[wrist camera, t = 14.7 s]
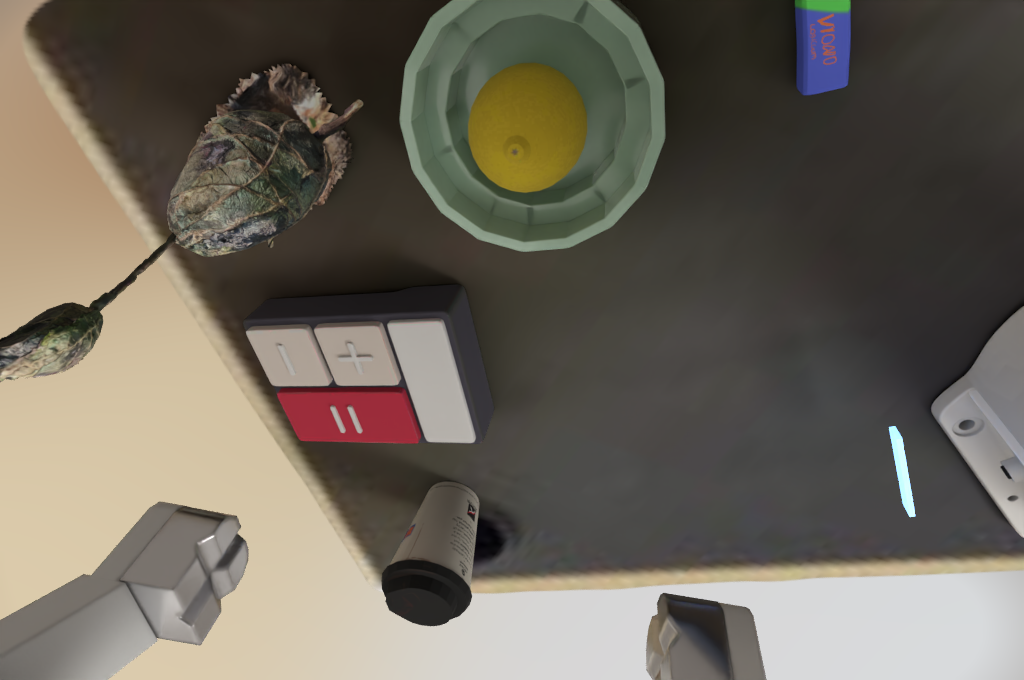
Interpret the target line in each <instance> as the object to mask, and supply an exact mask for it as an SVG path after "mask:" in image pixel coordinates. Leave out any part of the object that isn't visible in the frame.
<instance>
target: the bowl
mask: <svg viewBox="0 0 1024 680" xmlns="http://www.w3.org/2000/svg"><path fill="white" fill-rule="evenodd" d="M519 63H539V64H543V65H547V66H551V67H552V68H554V69H556V70H558V71H559V72H561V73H563V74H564V75H565V76H566V77H567V78H568V79H569V80H570V81H571V82H572V83H573V84H574V85H575V87H576V88H577V90H578V92H579V93H580V95H581V97H582V99H583V103H584V106H585V109H586V113H587V135H586V140H585V145H584V149H583V151H582V153H581V155H580V157H579V159H578V161H577V163H576V164H575V165H574V167H573V168H572V169H571V170H570V171H569V173H568V174H567V175H566V176H565V177H564V178H562V179H561V180H559V181H558V182H557V183H555V184H554V185H552V186H550V187H548V188H545V189H543V190H540V191H535V192H527V193H523V192H515V191H510V190H508V189H505V188H502V187H500V186H498V185H497V184H495V183H494V182H493V181H491V180H490V179H488V177H487V176H486V175H485V174H484V173H483V172H482V171H481V170H480V168H479V167H478V165H477V163H476V161H475V159H474V158H473V155H472V152H471V148H470V144H469V136H468V122H469V117H470V112H471V107H472V105H473V103H474V101H475V99H476V97H477V95H478V93H479V91H480V89H481V88H482V87H483V86H484V85H485V84H486V83H487V81H488V80H489V79H490V78H491V77H492V76H494V75H495V74H497V73H498V72H500V71H501V70H503V69H504V68H507V67H510V66H513V65H516V64H519ZM399 120H400V126H401V130H402V133H403V137H404V141H405V145H406V149H407V153H408V156H409V160H410V164H411V168H412V170H413V173H414V174H415V176H416V177H417V179H418V180H419V181H420V183H421V184H422V186H423V187H424V189H425V190H426V192H427V193H428V195H429V196H430V197H431V199H432V200H433V202H434V203H435V205H436V206H437V208H438V209H439V211H441V213H442V214H444V215H445V216H447V217H448V218H449V219H451V220H452V221H453V222H455V223H456V224H458V225H459V226H460V227H462V228H463V229H465V230H466V231H467V232H469V233H470V234H472V235H473V236H474V237H476V238H477V239H479V240H482V241H486V242H489V243H493V244H496V245H500V246H504V247H507V248H511V249H514V250H518V251H522V252H523V251H524V252H528V251H540V250H551V249H562V248H569V247H572V246H574V245H576V244H578V243H580V242H582V241H584V240H586V239H588V238H590V237H592V236H594V235H596V234H598V233H600V232H602V231H605V230H607V229H609V228H611V227H612V226H613V225H614V224H615V223H616V222H617V221H618V220H619V219H620V218H621V217H622V215H623V214H624V213H625V212H626V211H627V210H628V209H629V208H630V207H631V206H632V204H633V203H634V202H635V201H636V200H637V199H638V198H639V197H640V196H641V195H642V193H643V192H644V191H645V190H646V188H647V186H648V183H649V181H650V178H651V175H652V173H653V170H654V168H655V165H656V162H657V160H658V157H659V154H660V152H661V149H662V146H663V144H664V141H665V93H664V79H663V77H662V74H661V71H660V68H659V66H658V63H657V61H656V58H655V56H654V54H653V52H652V49H651V47H650V45H649V43H648V40H647V38H646V36H645V34H644V31H643V29H642V27H641V25H640V23H639V20H638V18H637V17H636V15H635V14H633V13H632V12H631V11H630V10H629V9H628V8H627V7H626V6H624V5H623V4H622V3H621V2H620V1H619V0H452V1H450V2H449V3H448V4H446V5H445V6H444V7H443V8H441V9H440V10H439V11H437V12H436V13H435V14H433V16H432V17H431V18H430V19H429V21H428V23H427V25H426V27H425V29H424V31H423V33H422V34H421V36H420V38H419V40H418V42H417V44H416V46H415V48H414V49H413V51H412V53H411V55H410V57H409V59H408V61H407V62H406V64H405V69H404V78H403V88H402V97H401V107H400V117H399Z"/></svg>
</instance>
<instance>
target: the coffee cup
mask: <svg viewBox="0 0 1024 680" xmlns="http://www.w3.org/2000/svg"><path fill="white" fill-rule="evenodd" d="M478 511H479V500H478V497H477V496H476V494H475V493H474V492H473V491H472V490H471V489H470V488H468V487H466V486H464V485H462V484H460V483H456V482H446V481H445V482H440V483H437V484H435V485H433V486H432V487H431V488H430V490H429V491H428V493H427V495H426V497H425V499H424V501H423V503H422V505H421V506H420V508H419V510H418V512H417V514H416V516H415V518H414V520H413V522H412V524H411V526H410V527H409V529H408V531H407V533H406V535H405V537H404V539H403V541H402V543H401V545H400V546H399V548H398V550H397V552H396V554H395V556H394V558H393V560H392V562H391V564H390V565H389V566H387V568H386V569H385V570H384V572H383V573H382V590H383V592H384V595H385V597H386V603H387V605H388V608H389V610H390V611H392V612H394V613H395V614H397V615H399V616H401V617H402V618H404V619H406V620H408V621H410V622H412V623H416V624H419V625H425V626H437V625H442V624H445V623H447V622H448V621H449V620H450V619H453V618H455V617H458V616H460V615H461V614H462V613H463V612H464V611H465V610H466V609H467V607H468V606H469V605H470V602H471V598H472V594H471V590H470V585H471V576H472V567H473V557H474V548H475V539H476V530H477V520H478Z"/></svg>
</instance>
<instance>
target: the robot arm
mask: <svg viewBox="0 0 1024 680" xmlns="http://www.w3.org/2000/svg"><path fill="white" fill-rule="evenodd" d="M931 412H932V414H933V416H934V417H935V419H936V420H937V422H938V423H939V425H940V426H941V427H942V429H943V430H944V432H945V433H946V434H947V436H948V437H949V439H950V440H951V442H952V443H953V444H954V446H955V447H956V449H957V450H958V451H959V453H960V454H961V456H962V457H963V458H964V460H965V461H966V463H967V464H968V466H969V467H970V468H971V470H972V471H973V473H974V474H975V475H976V477H977V478H978V480H979V481H980V482H981V484H982V485H983V487H984V488H985V490H986V491H987V492H988V494H989V495H990V497H991V498H992V499H993V501H994V502H995V504H996V505H997V506H998V508H999V509H1000V511H1001V512H1002V514H1003V515H1004V516H1005V518H1006V519H1007V520H1008V522H1009V523H1010V525H1011V526H1012V527H1013V528H1014V529H1015V530H1016V531H1017V533H1018V534H1019V535H1020V536H1022V537H1023V538H1024V306H1023V307H1022V308H1020V309H1019V310H1018V311H1017V312H1015V313H1014V314H1013V315H1012V316H1011V317H1010V318H1009V319H1008V320H1007V321H1006V322H1005V323H1004V324H1003V325H1002V326H1001V327H1000V328H999V329H998V330H997V331H996V332H995V333H994V335H993V336H992V337H991V338H990V339H989V341H988V342H987V344H986V345H985V347H984V348H983V350H982V351H981V353H980V355H979V356H978V358H977V360H976V361H975V363H974V364H973V366H972V367H971V369H970V370H969V371H968V372H967V373H966V375H964V376H963V377H962V378H960V379H959V380H958V381H957V382H955V383H954V384H953V385H951V386H950V387H949V388H948V389H946V390H945V391H944V392H943V393H942V394H941V395H940V396H939V397H938V398H937V399H936V400H935V401H934V403H933V404H932V407H931ZM964 420H965V421H964ZM962 421H963V422H962ZM889 430H890V436H891V441H892V446H893V452H894V457H895V463H896V468H897V474H898V479H899V485H900V490H901V496H902V501H903V505H904V507H905V509H906V511H907V513H908V515H909V517H914V516H915V511H914V505H913V499H912V493H911V487H910V481H909V476H908V470H907V464H906V458H905V452H904V446H903V441H902V437H901V435H900V434H899V432H898V430H897V429H896V427H895V426H893V427H889ZM240 528H241V525H240V523H239V520H238V518H237V516H234V515H229V514H224V513H218V512H213V511H207V510H202V509H196V508H191V507H187V506H183V505H177V504H171V503H165V502H158V503H157V504H155V505H153V506H152V507H150V508H149V509H148V510H147V511H146V513H145V514H144V515H143V516H142V517H141V519H140V520H139V521H138V522H137V523H136V524H135V525H134V526H133V528H132V529H131V530H130V531H129V532H128V533H127V534H126V536H125V537H124V538H123V539H122V540H121V541H120V543H119V544H118V545H117V546H116V547H115V548H114V549H113V551H112V552H111V553H110V554H109V555H108V556H107V558H106V559H105V560H104V561H103V562H102V563H101V565H100V566H99V567H98V568H97V569H96V570H95V572H94V573H93V574H92V575H85V574H83V575H81V576H80V577H78V578H76V579H74V580H72V581H71V582H69V583H67V584H65V585H63V586H61V587H60V588H58V589H56V590H54V591H52V592H51V593H49V594H47V595H45V596H43V597H42V598H40V599H38V600H36V601H34V602H32V603H31V604H29V605H27V606H25V607H23V608H21V609H20V610H18V611H16V612H14V613H12V614H11V615H9V616H7V617H5V618H3V619H1V620H0V680H108V679H109V678H110V677H112V676H113V675H114V674H115V673H117V672H118V671H119V670H121V669H122V668H123V667H125V666H126V665H127V664H128V663H130V662H131V661H132V660H134V659H135V658H136V657H137V656H139V655H140V654H141V653H143V652H144V651H145V650H146V649H148V648H149V647H150V646H152V645H153V644H154V643H155V642H157V638H161V639H166V640H172V641H178V642H183V643H189V644H195V645H201V644H202V642H203V641H204V639H205V637H206V636H207V634H208V632H209V631H210V629H211V627H212V626H213V624H214V623H215V621H216V619H217V618H218V616H219V615H220V613H221V598H223V597H224V596H226V595H227V594H229V593H230V592H232V591H233V590H235V588H236V587H237V585H238V583H239V582H240V580H241V578H242V577H243V574H244V571H245V568H246V565H247V562H248V546H247V543H246V541H245V540H244V539H243V538H242V537H241V536H240V535H238V534H237V532H238V531H239V529H240ZM657 606H658V607H657V608H658V614H657V615H655V616H653V617H652V619H651V622H650V625H649V630H648V636H647V648H646V664H647V665H646V666H647V671H648V673H649V675H650V676H651V678H652V680H766V676H765V671H764V666H763V661H762V656H761V651H760V646H759V641H758V636H757V631H756V627H755V622H754V617H753V615H752V613H751V611H750V609H748V608H746V607H741V606H735V605H729V604H724V603H718V602H716V601H710V600H704V599H698V598H691V597H685V596H679V595H673V594H667V593H663V594H661V595H660V597H659V600H658V602H657Z"/></svg>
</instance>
